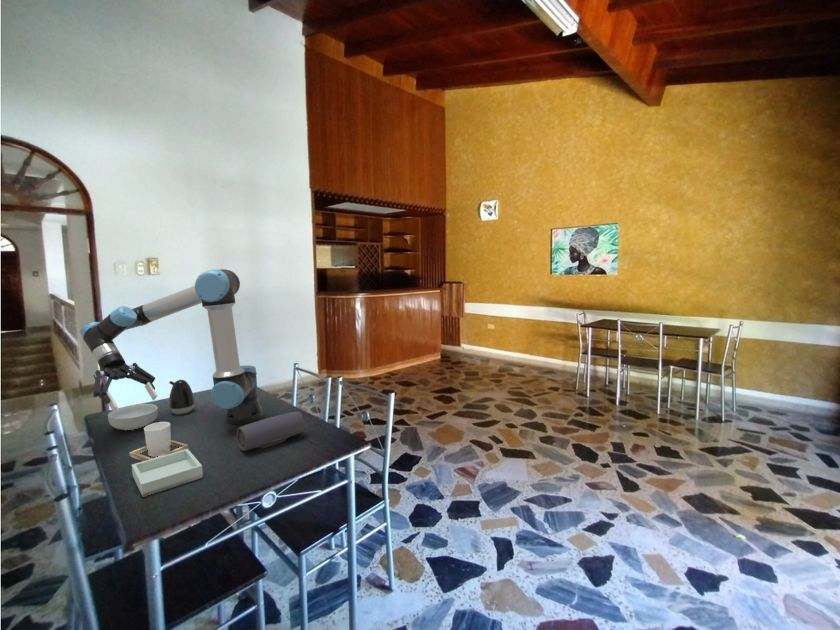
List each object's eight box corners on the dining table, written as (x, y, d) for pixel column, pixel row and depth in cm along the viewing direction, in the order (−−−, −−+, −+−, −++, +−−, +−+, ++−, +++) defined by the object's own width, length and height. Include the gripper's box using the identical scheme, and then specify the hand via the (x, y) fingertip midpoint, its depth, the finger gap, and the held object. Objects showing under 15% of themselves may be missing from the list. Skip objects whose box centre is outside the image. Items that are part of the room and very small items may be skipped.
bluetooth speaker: (294, 431, 165) (293, 407, 164) (305, 438, 158) (305, 413, 157) (236, 449, 149) (234, 422, 148) (247, 457, 142) (245, 430, 141)
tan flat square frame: (166, 442, 155) (165, 438, 155) (188, 448, 149) (188, 444, 149) (129, 456, 143) (129, 452, 143) (152, 464, 138) (151, 460, 137)
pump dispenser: (180, 407, 191) (177, 376, 189) (200, 409, 190) (198, 377, 188) (163, 416, 181) (160, 382, 179) (185, 417, 180) (182, 383, 178)
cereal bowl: (103, 438, 158) (102, 420, 157) (115, 422, 173) (114, 406, 172) (155, 431, 165) (153, 414, 164) (162, 416, 180) (161, 401, 179)
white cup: (175, 452, 146) (173, 425, 145) (149, 460, 141) (147, 432, 139) (168, 445, 152) (166, 420, 150) (143, 453, 146) (141, 426, 145)
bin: (188, 459, 141) (187, 448, 140) (202, 477, 129) (202, 465, 129) (132, 476, 130) (131, 464, 129) (142, 497, 118) (141, 484, 118)
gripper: (140, 357, 166) (166, 399, 161) (65, 372, 144) (93, 420, 139) (147, 346, 163) (173, 388, 158) (72, 359, 141) (100, 408, 136)
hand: (136, 403), depth 149 cm, fingers open, 13 cm apart
